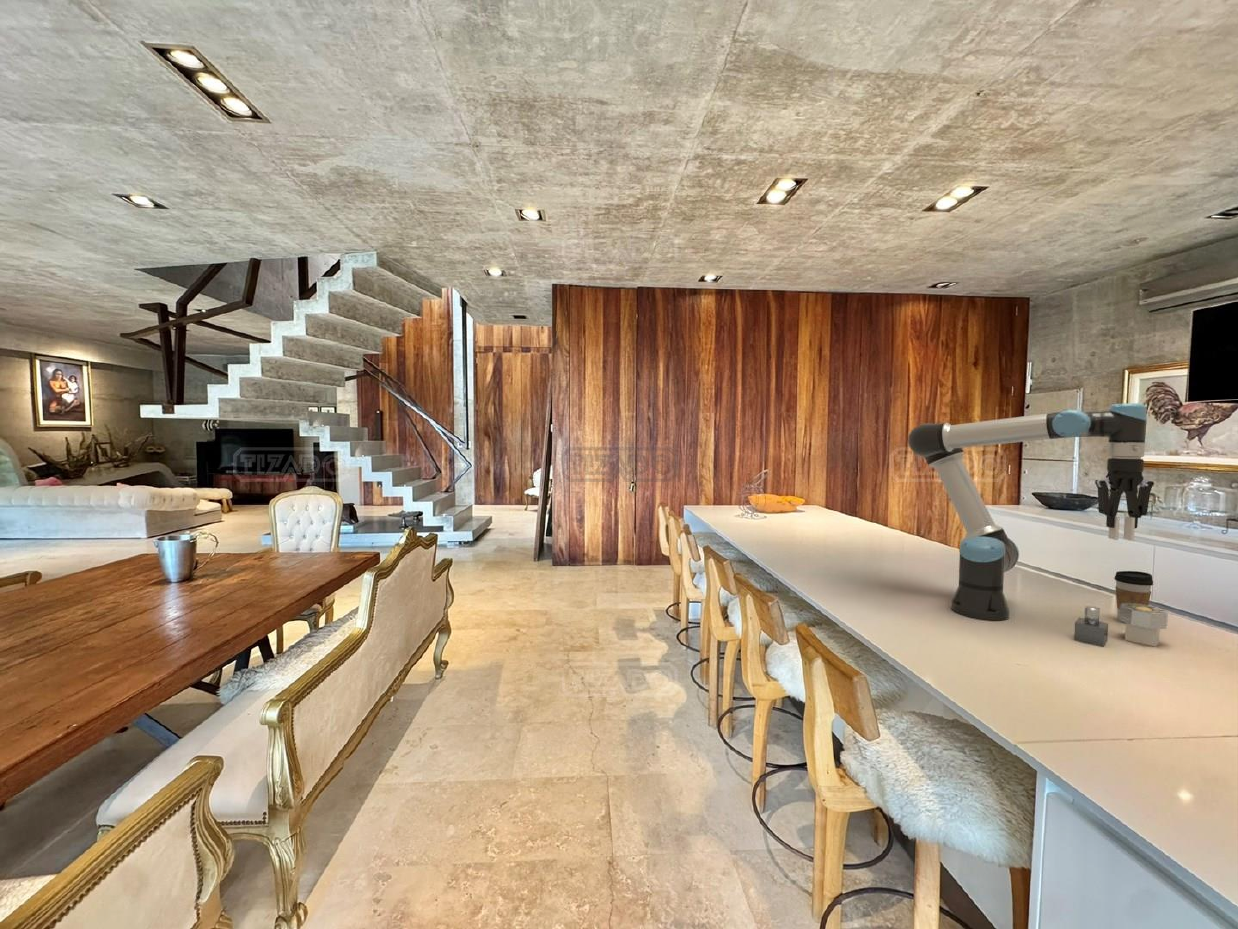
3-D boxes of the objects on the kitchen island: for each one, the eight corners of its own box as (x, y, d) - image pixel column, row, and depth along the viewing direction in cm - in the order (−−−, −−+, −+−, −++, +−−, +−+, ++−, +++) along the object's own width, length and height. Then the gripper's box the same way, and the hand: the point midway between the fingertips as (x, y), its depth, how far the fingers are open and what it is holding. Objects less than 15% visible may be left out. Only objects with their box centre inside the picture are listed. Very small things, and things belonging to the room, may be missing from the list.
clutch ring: (1117, 622, 144) (1118, 607, 143) (1122, 614, 149) (1123, 601, 149) (1164, 631, 137) (1165, 616, 137) (1168, 623, 142) (1169, 609, 142)
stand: (1074, 640, 144) (1075, 607, 143) (1078, 634, 147) (1080, 602, 147) (1103, 647, 139) (1105, 613, 139) (1107, 641, 143) (1109, 608, 142)
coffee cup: (1158, 627, 153) (1162, 577, 152) (1125, 625, 155) (1128, 575, 154) (1136, 618, 161) (1139, 570, 160) (1104, 616, 163) (1107, 568, 162)
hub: (1125, 640, 144) (1127, 608, 143) (1128, 634, 148) (1130, 603, 147) (1156, 646, 139) (1158, 613, 139) (1158, 641, 143) (1160, 609, 142)
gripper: (1102, 458, 147) (1098, 540, 148) (1170, 458, 144) (1164, 543, 145) (1084, 457, 154) (1079, 535, 155) (1147, 457, 151) (1143, 537, 152)
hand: (1120, 539), depth 150 cm, fingers open, 3 cm apart
